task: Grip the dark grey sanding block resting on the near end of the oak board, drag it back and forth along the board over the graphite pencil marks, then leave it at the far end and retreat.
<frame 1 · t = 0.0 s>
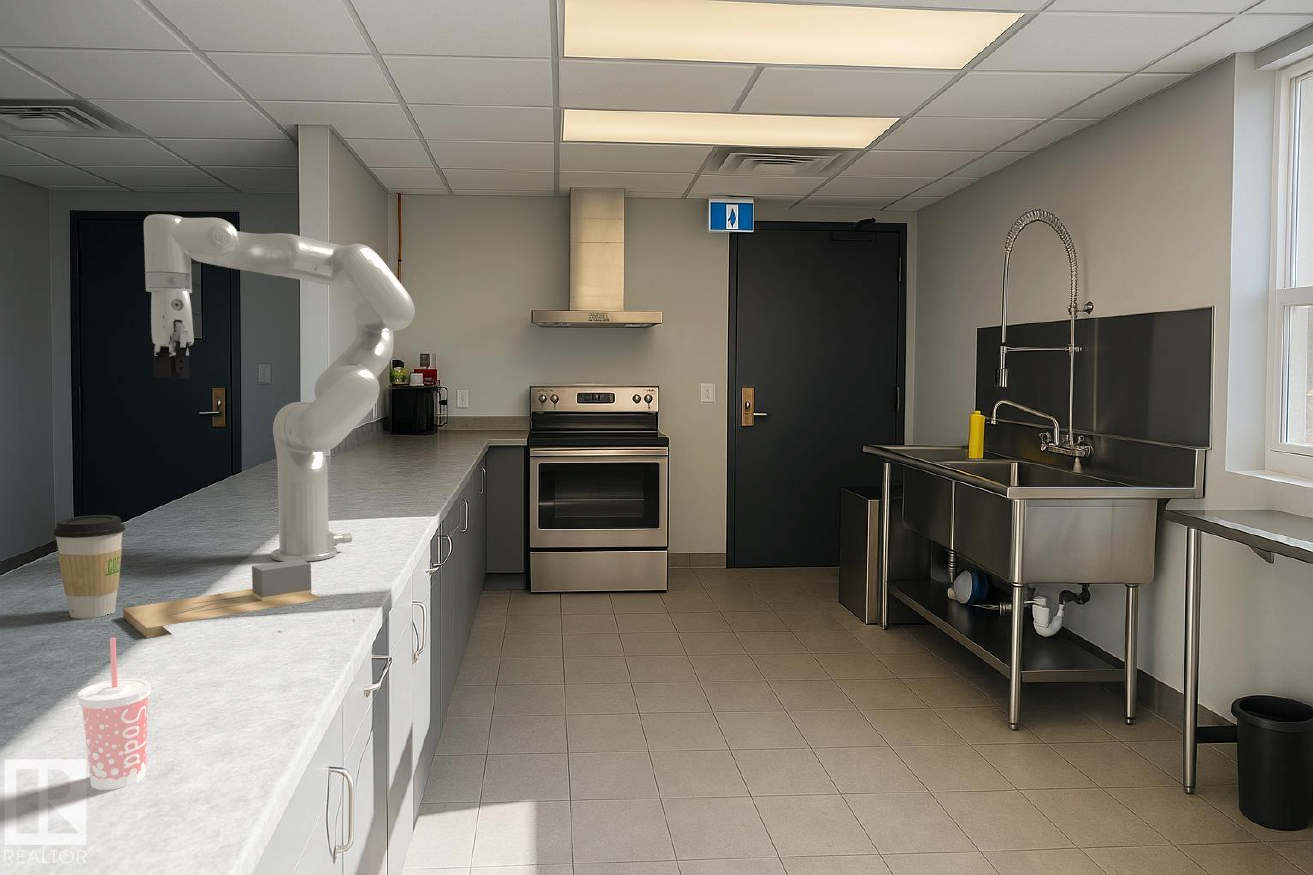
hand: (172, 377, 173), 37 cm above the countertop, tool pointing down, fingers open, 9 cm apart
sanding block: (282, 594, 156), point 1 cm above the countertop, touching board
beverage cup: (118, 780, 91), on the countertop
board: (225, 612, 150), on the countertop
coffee cup: (92, 614, 149), on the countertop
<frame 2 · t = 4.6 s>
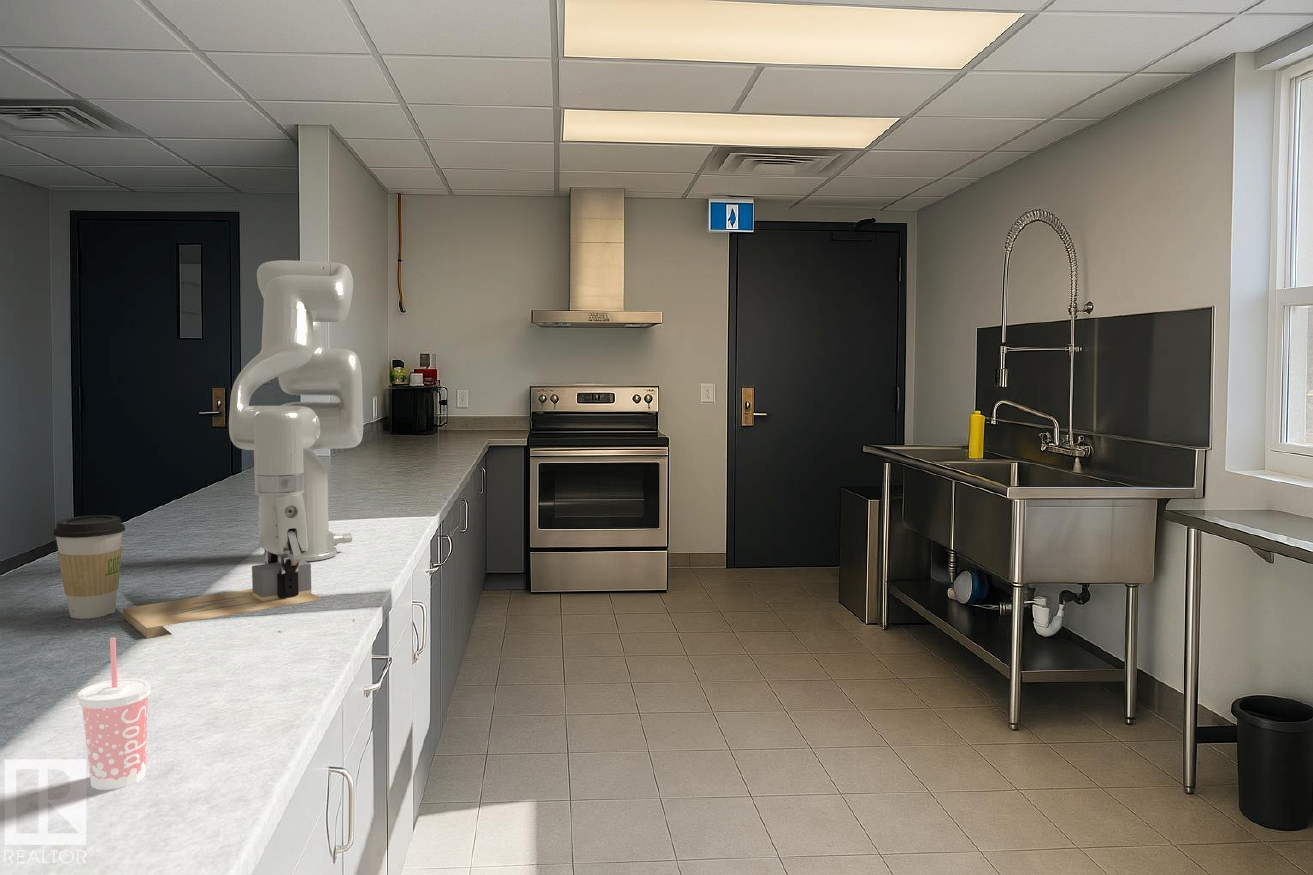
hand: (282, 592, 156), 2 cm above the countertop, tool pointing down, fingers closed on sanding block, 4 cm apart
sanding block: (282, 594, 156), point 2 cm above the countertop, touching board, gripper
everything else where it was.
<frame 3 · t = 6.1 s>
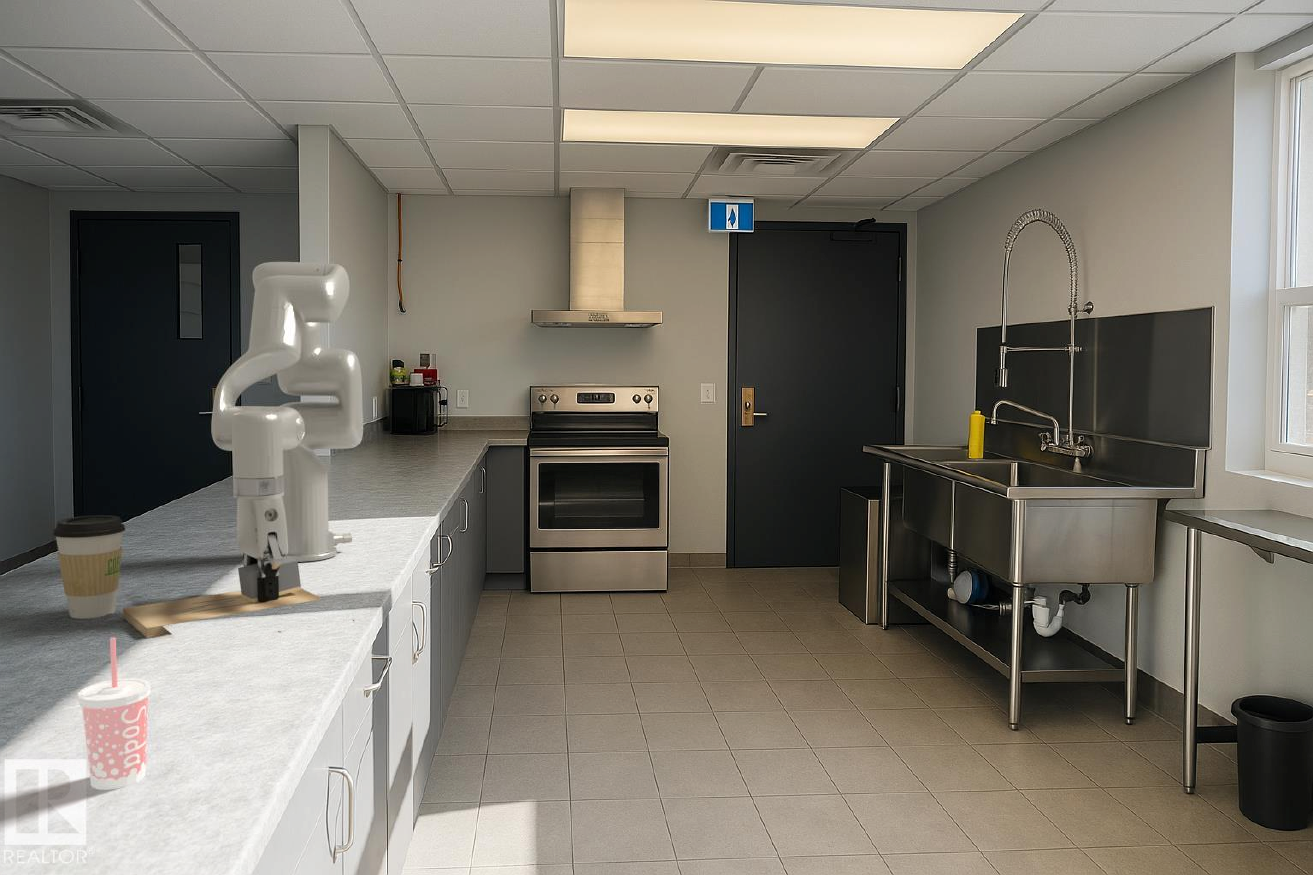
hand: (261, 595, 153), 2 cm above the countertop, tool pointing down, fingers closed on sanding block, 4 cm apart
sanding block: (271, 593, 155), point 2 cm above the countertop, tilted 6°, touching board, gripper
everything else where it was.
when the fingers open (2 cm above the countertop, at t = 14.7 s): sanding block drops 2 cm, resting on board.
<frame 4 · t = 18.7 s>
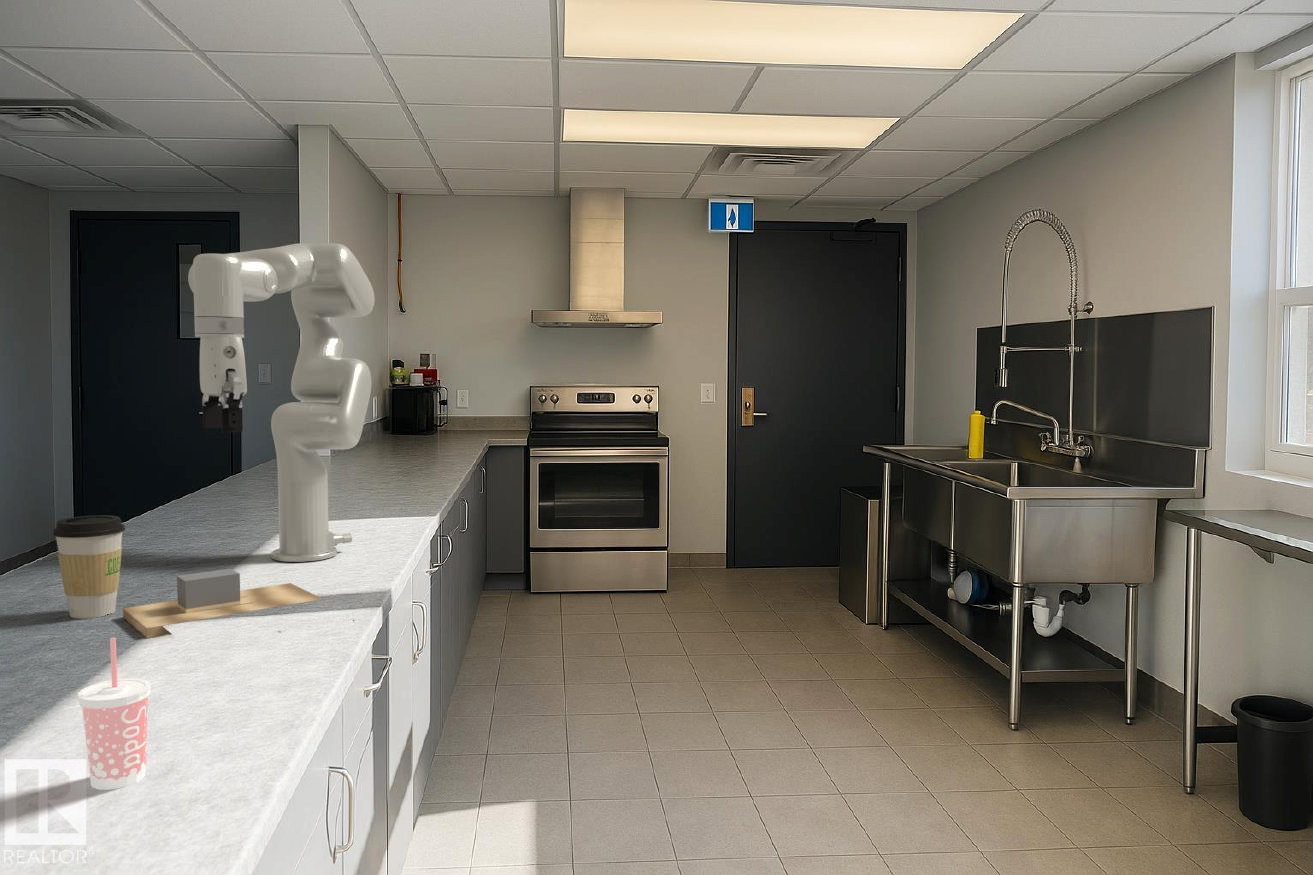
hand: (222, 430, 159), 28 cm above the countertop, tool pointing down, fingers open, 9 cm apart
sanding block: (209, 605, 148), point 2 cm above the countertop, touching board
everything else where it was.
at the end: sanding block inside the target area on the board (4.6 cm from its centre), point 1.5 cm above the board's base; sanding block tilted 0°; the gripper is holding nothing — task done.
